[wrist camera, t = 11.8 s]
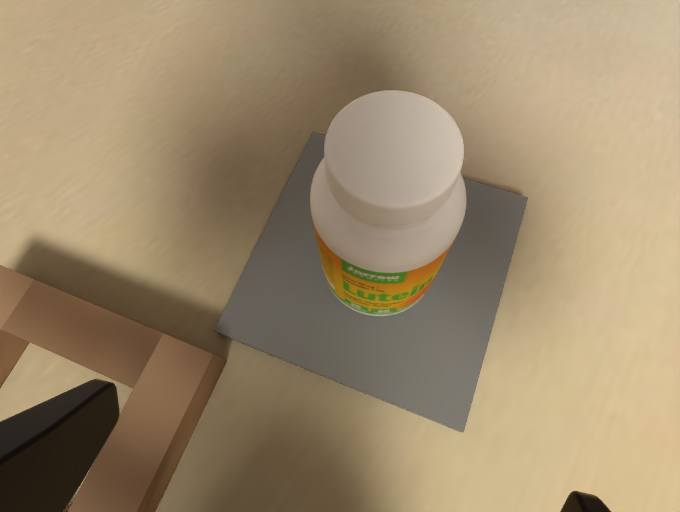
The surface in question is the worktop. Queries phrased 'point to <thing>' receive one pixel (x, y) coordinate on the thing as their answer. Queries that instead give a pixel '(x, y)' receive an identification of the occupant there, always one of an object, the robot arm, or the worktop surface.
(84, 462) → the robot arm
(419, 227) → the supplement bottle
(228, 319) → the slate mat
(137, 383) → the hole board
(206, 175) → the worktop surface
